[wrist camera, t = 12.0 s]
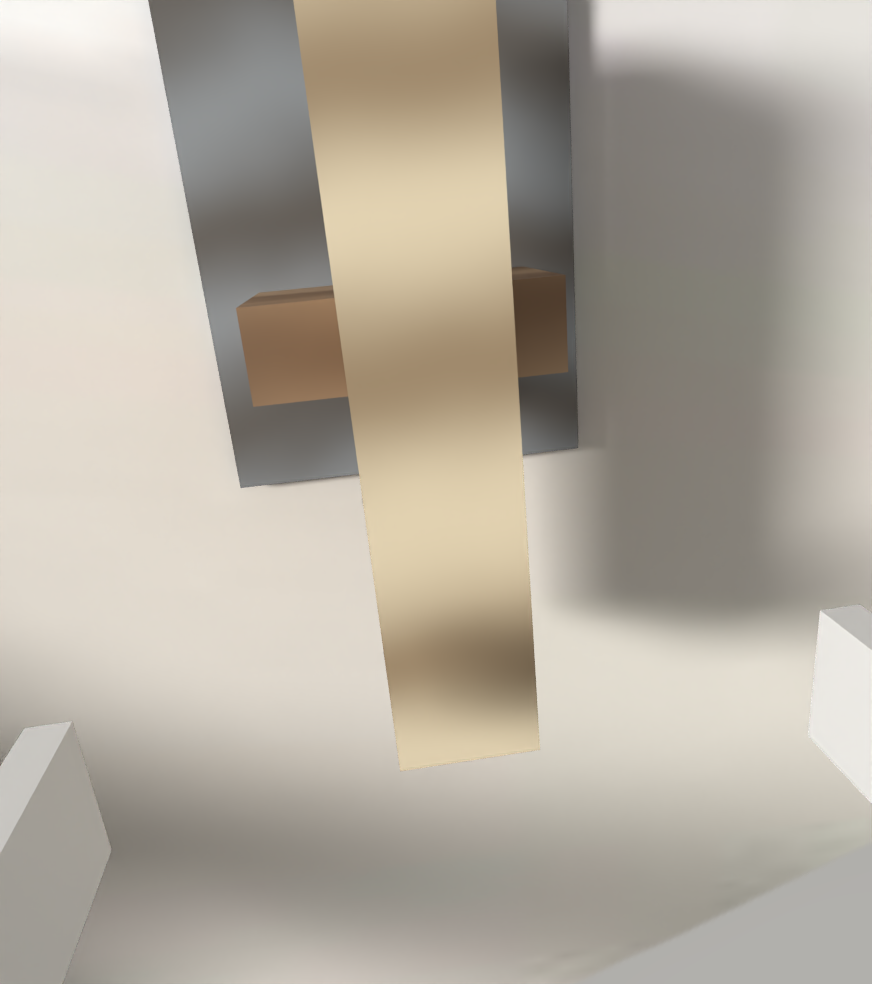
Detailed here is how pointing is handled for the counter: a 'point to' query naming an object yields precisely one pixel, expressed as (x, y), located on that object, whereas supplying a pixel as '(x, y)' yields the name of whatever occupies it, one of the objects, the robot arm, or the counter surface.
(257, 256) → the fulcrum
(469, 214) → the beech bar
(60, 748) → the robot arm
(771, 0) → the counter surface
